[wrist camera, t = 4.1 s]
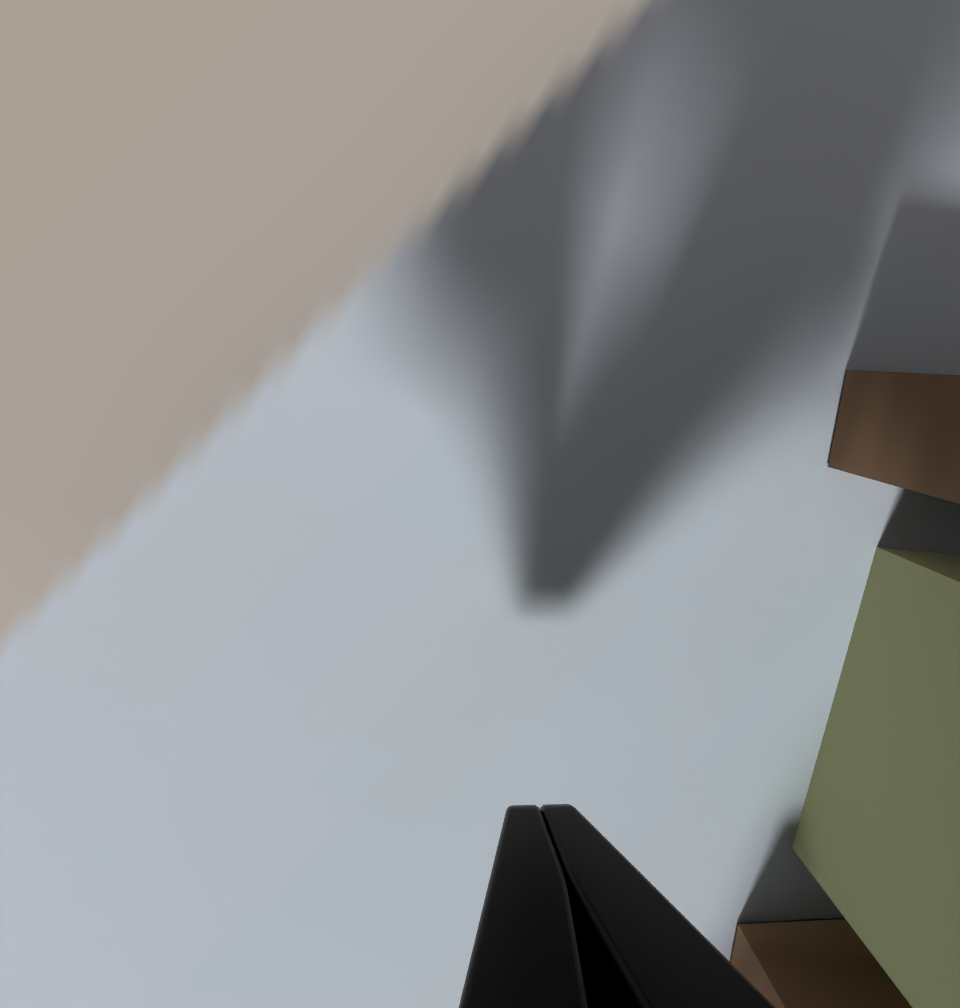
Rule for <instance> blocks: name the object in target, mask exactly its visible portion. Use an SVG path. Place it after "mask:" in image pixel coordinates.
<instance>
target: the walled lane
mask: <svg viewBox="0 0 960 1008" xmlns="http://www.w3.org/2000/svg"><path fill="white" fill-rule="evenodd" d="M828 467H831V468H834V469H838V470H841V471H845V472H848V473H852V474H856V475H859V476H863V477H866V478H870V479H873V480H877V481H880V482H884V483H887V484H891V485H894V486H898V487H901V488H905V489H909V490H912V491H916V492H919V493H923V494H926V495H930V496H933V497H937V498H940V499H944V500H947V501H951V502H955V503H958V504H960V375H939V374H918V373H896V372H875V371H853V370H847V372H846V377H845V382H844V387H843V392H842V397H841V402H840V407H839V413H838V418H837V423H836V428H835V433H834V438H833V443H832V448H831V453H830V458H829V464H828ZM731 964H732V965H733V966H734V967H735V968H736V969H737V970H738V971H739V972H740V973H741V974H742V975H743V976H744V977H745V978H746V979H747V980H748V981H749V982H750V983H751V984H752V985H753V986H754V987H755V988H756V989H757V990H758V991H759V992H760V993H762V994H763V995H764V996H765V997H766V998H767V999H768V1000H769V1001H770V1002H771V1003H772V1004H773V1005H774V1006H775V1007H776V1008H912V1006H911V1005H910V1004H909V1002H908V1001H907V1000H906V998H905V997H904V996H903V994H902V993H901V992H900V990H899V989H898V988H897V986H896V985H895V984H894V982H893V981H892V980H891V978H890V977H889V976H888V975H887V973H886V972H885V971H884V969H883V968H882V967H881V965H880V964H879V963H878V961H877V960H876V959H875V957H874V956H873V955H872V953H871V952H870V951H869V949H868V948H867V947H866V945H865V944H864V943H863V941H862V940H861V939H860V937H859V936H858V935H857V933H856V932H855V931H854V930H853V928H852V927H851V926H850V924H849V923H848V922H847V920H846V919H837V920H815V921H794V922H773V923H751V924H738V927H737V932H736V937H735V942H734V947H733V952H732V958H731Z"/></svg>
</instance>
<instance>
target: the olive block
mask: <svg viewBox="0 0 960 1008" xmlns="http://www.w3.org/2000/svg"><path fill="white" fill-rule="evenodd" d="M792 849H793V850H794V851H795V853H796V854H797V855H798V857H799V858H800V859H801V861H802V862H803V863H804V865H805V866H806V867H807V869H808V870H809V871H810V873H811V874H812V875H813V877H814V878H815V879H816V881H817V882H818V883H819V884H820V886H821V887H822V888H823V890H824V891H825V892H826V894H827V895H828V896H829V898H830V899H831V900H832V902H833V903H834V904H835V906H836V907H837V908H838V910H839V911H840V912H841V914H842V915H843V916H844V918H845V919H846V920H847V922H848V923H849V924H850V926H851V927H852V928H853V930H854V931H855V932H856V933H857V935H858V936H859V937H860V939H861V940H862V941H863V943H864V944H865V945H866V947H867V948H868V949H869V951H870V952H871V953H872V955H873V956H874V957H875V959H876V960H877V961H878V963H879V964H880V965H881V967H882V968H883V969H884V971H885V972H886V973H887V975H888V976H889V977H890V978H891V980H892V981H893V982H894V984H895V985H896V986H897V988H898V989H899V990H900V992H901V993H902V994H903V996H904V997H905V998H906V1000H907V1001H908V1002H909V1004H910V1005H911V1006H912V1008H960V555H959V554H948V553H937V552H926V551H915V550H904V549H893V548H883V547H877V548H876V551H875V555H874V558H873V562H872V565H871V569H870V572H869V576H868V580H867V583H866V587H865V590H864V594H863V597H862V601H861V604H860V608H859V611H858V615H857V619H856V622H855V626H854V629H853V633H852V636H851V640H850V643H849V647H848V650H847V654H846V658H845V661H844V665H843V668H842V672H841V675H840V679H839V682H838V686H837V689H836V693H835V697H834V700H833V704H832V707H831V711H830V714H829V718H828V721H827V725H826V729H825V732H824V736H823V739H822V743H821V746H820V750H819V753H818V757H817V760H816V764H815V768H814V771H813V775H812V778H811V782H810V785H809V789H808V792H807V796H806V799H805V803H804V807H803V810H802V814H801V817H800V821H799V824H798V828H797V831H796V835H795V838H794V842H793V846H792Z"/></svg>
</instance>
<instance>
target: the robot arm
mask: <svg viewBox="0 0 960 1008" xmlns="http://www.w3.org/2000/svg"><path fill="white" fill-rule="evenodd" d="M459 1008H776V1007H775V1006H774V1005H773V1004H772V1003H771V1002H770V1001H769V1000H768V999H767V998H766V997H765V996H764V995H763V994H762V993H760V992H759V991H758V990H757V989H756V988H755V987H754V986H753V985H752V984H751V983H750V982H749V981H748V980H747V979H746V978H745V977H744V976H743V975H742V974H741V973H740V972H739V971H738V970H737V969H736V968H735V967H734V966H733V965H732V964H731V963H730V962H729V961H728V960H727V959H726V958H725V957H724V956H723V955H722V954H721V953H720V952H719V951H718V950H717V949H716V948H715V947H714V946H713V945H712V944H711V943H710V942H709V941H708V940H707V939H706V938H705V937H704V936H703V935H702V934H701V933H700V932H699V931H698V930H697V929H696V928H695V927H694V926H693V925H692V924H691V923H690V922H689V921H688V920H687V919H686V918H685V917H684V916H683V915H682V914H681V913H680V912H679V911H678V910H677V909H676V908H675V907H674V906H673V905H672V904H671V903H670V902H669V901H668V900H667V899H666V898H665V897H664V896H663V895H662V894H661V893H660V892H659V891H658V890H657V889H656V888H655V887H654V886H653V885H652V884H651V883H650V882H649V881H648V880H647V879H646V878H645V877H644V876H643V875H642V874H641V873H640V872H639V871H638V870H637V869H636V868H635V867H634V866H633V865H632V864H631V863H630V862H629V861H628V860H627V859H626V858H625V857H624V856H623V855H622V854H621V853H620V852H619V851H618V850H617V849H616V848H615V847H614V846H613V845H612V844H611V843H610V842H609V841H608V840H607V839H606V838H605V837H604V836H603V835H602V834H601V833H600V832H599V831H598V830H597V829H596V828H595V827H594V826H593V825H592V824H591V823H590V822H589V821H588V820H587V819H586V818H585V817H584V816H583V815H582V814H581V813H580V812H579V811H578V810H577V809H576V808H575V807H573V806H572V805H569V804H551V805H543V806H542V807H541V808H540V809H539V807H537V806H536V805H513V806H509V807H508V808H507V810H506V814H505V818H504V822H503V826H502V830H501V835H500V839H499V843H498V847H497V851H496V855H495V860H494V864H493V868H492V872H491V876H490V880H489V884H488V889H487V893H486V897H485V901H484V905H483V909H482V913H481V918H480V922H479V926H478V930H477V934H476V938H475V943H474V947H473V951H472V955H471V959H470V963H469V967H468V972H467V976H466V980H465V984H464V988H463V992H462V996H461V1001H460V1005H459Z"/></svg>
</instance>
